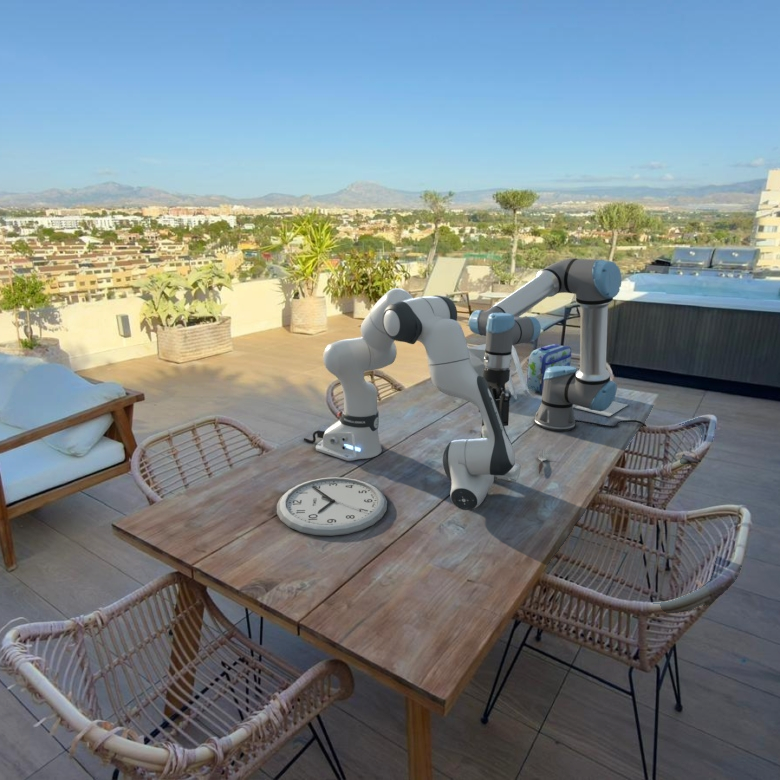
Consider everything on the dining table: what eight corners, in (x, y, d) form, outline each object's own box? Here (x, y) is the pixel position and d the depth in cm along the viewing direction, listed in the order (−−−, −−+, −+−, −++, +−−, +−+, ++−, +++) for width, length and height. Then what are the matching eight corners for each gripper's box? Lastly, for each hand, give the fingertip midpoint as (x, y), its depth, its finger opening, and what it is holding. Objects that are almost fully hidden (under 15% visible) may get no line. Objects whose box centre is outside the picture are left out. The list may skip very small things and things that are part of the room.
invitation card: (608, 416, 214) (573, 407, 224) (608, 416, 214) (573, 408, 224) (628, 404, 229) (594, 396, 238) (628, 405, 229) (594, 397, 238)
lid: (505, 437, 155) (505, 431, 154) (485, 438, 154) (486, 432, 153) (497, 429, 161) (497, 423, 160) (478, 430, 159) (478, 424, 159)
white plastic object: (461, 429, 252) (437, 405, 227) (444, 352, 274) (420, 323, 250) (535, 404, 240) (518, 377, 215) (510, 326, 262) (492, 293, 237)
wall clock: (392, 527, 129) (268, 531, 127) (391, 533, 130) (269, 537, 127) (383, 473, 158) (282, 475, 155) (383, 478, 158) (282, 480, 156)
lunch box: (543, 396, 238) (548, 352, 231) (522, 391, 245) (526, 347, 239) (570, 385, 255) (575, 343, 249) (550, 381, 262) (555, 340, 256)
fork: (534, 474, 163) (535, 468, 162) (539, 454, 177) (539, 449, 176) (543, 475, 162) (544, 469, 161) (547, 455, 176) (547, 450, 175)
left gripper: (516, 472, 143) (525, 453, 155) (445, 458, 151) (459, 441, 163) (514, 492, 145) (523, 472, 157) (444, 478, 153) (457, 459, 165)
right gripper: (470, 360, 158) (465, 431, 165) (502, 376, 141) (495, 455, 148) (492, 358, 161) (486, 428, 168) (526, 375, 143) (518, 452, 150)
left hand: (490, 456), depth 160 cm, fingers closed on jar, 5 cm apart
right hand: (491, 441), depth 158 cm, fingers open, 6 cm apart
